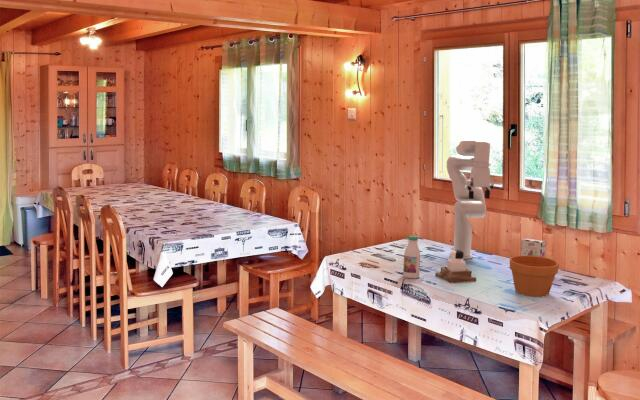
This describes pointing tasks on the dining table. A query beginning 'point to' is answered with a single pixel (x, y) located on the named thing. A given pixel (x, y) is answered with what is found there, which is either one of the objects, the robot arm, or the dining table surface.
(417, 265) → the milk bottle
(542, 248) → the candy bar box
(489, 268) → the dining table surface
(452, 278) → the bottle stand
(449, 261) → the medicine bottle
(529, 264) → the flower pot
